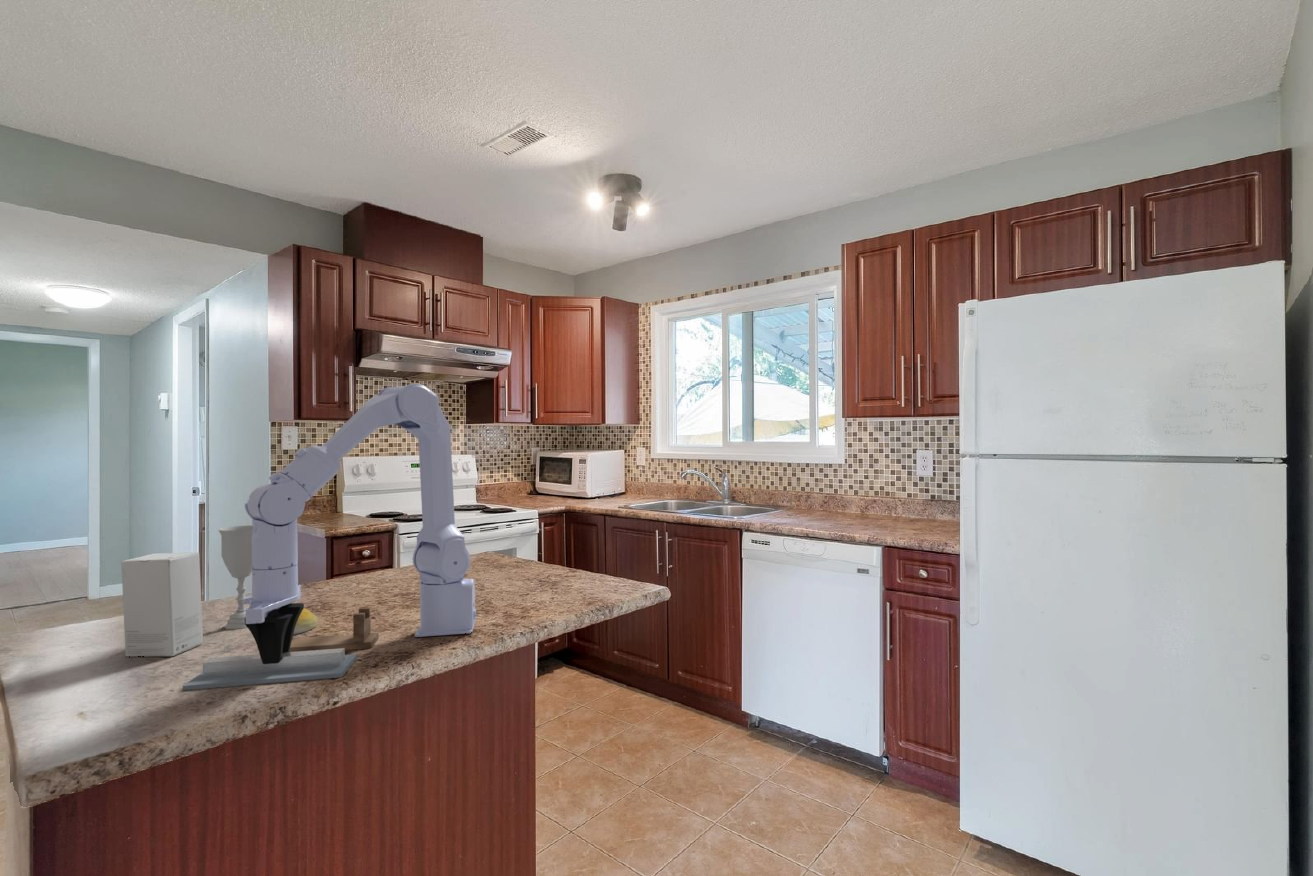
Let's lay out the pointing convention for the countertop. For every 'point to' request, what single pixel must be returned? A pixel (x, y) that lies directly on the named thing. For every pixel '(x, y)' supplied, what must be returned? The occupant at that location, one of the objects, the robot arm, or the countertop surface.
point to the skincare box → (162, 604)
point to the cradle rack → (341, 637)
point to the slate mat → (270, 676)
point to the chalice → (237, 565)
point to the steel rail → (287, 662)
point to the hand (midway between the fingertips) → (275, 659)
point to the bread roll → (305, 622)
